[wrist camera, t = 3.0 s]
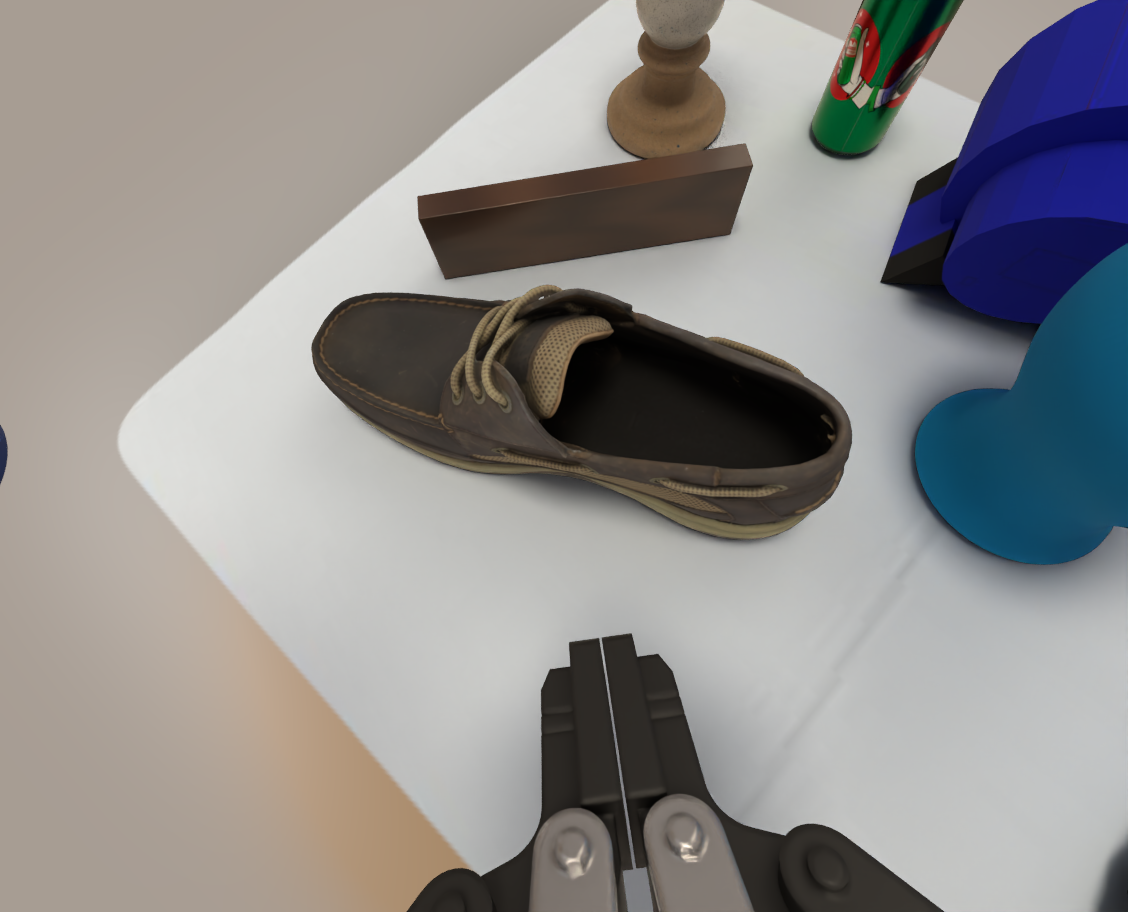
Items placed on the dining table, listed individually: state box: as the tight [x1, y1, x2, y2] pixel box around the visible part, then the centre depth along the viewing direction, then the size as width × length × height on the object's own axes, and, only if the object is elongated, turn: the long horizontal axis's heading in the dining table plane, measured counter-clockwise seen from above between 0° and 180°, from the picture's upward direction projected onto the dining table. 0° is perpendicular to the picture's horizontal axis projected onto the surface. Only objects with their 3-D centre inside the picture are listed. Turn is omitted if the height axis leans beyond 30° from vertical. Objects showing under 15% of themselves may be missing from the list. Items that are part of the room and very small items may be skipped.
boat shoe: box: [312, 285, 852, 540], centre depth 26 cm, size 11×29×11 cm, turn 75°
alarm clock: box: [881, 0, 1128, 324], centre depth 25 cm, size 12×12×15 cm
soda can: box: [812, 0, 963, 155], centre depth 31 cm, size 5×5×12 cm
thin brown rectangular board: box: [417, 144, 753, 279], centre depth 32 cm, size 20×2×6 cm, turn 98°
